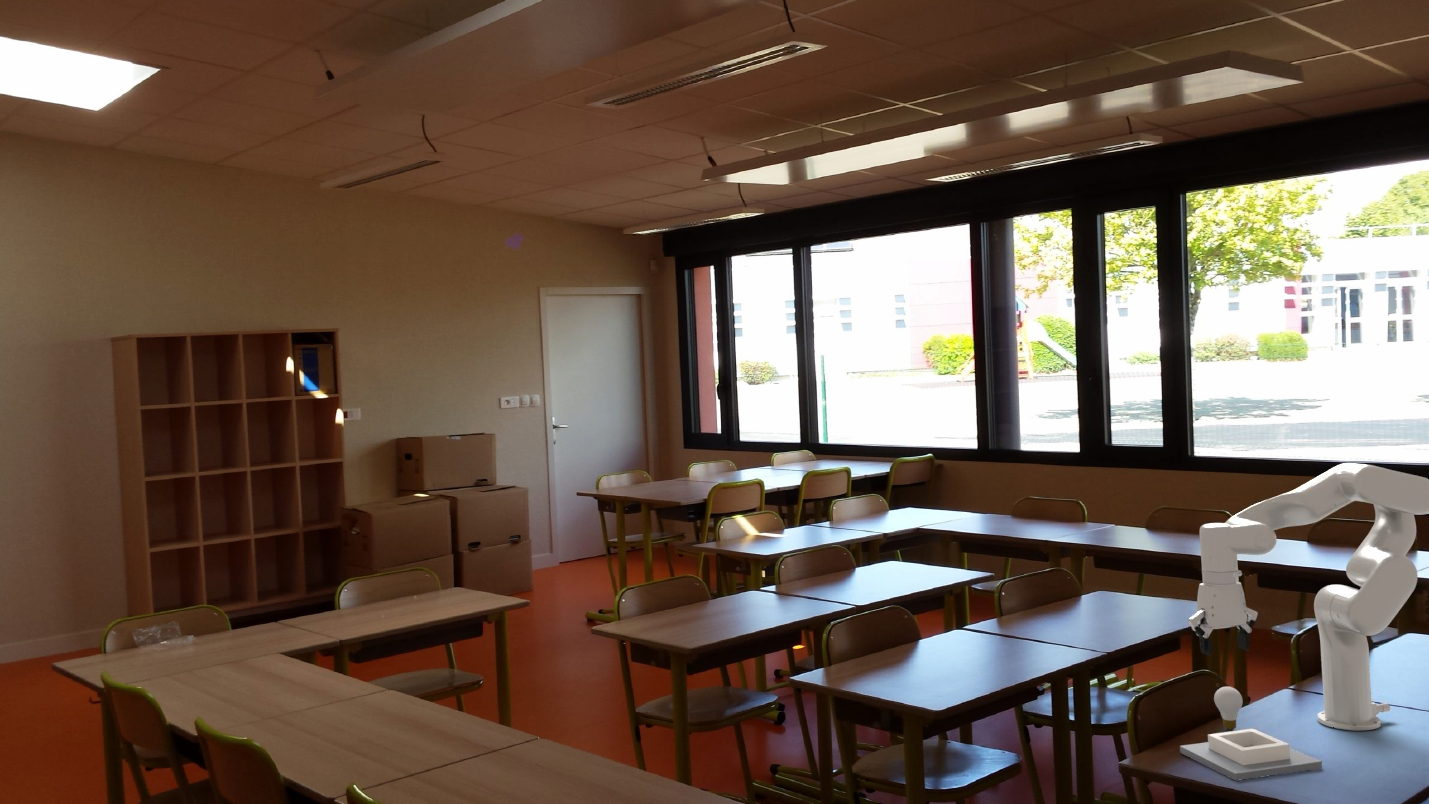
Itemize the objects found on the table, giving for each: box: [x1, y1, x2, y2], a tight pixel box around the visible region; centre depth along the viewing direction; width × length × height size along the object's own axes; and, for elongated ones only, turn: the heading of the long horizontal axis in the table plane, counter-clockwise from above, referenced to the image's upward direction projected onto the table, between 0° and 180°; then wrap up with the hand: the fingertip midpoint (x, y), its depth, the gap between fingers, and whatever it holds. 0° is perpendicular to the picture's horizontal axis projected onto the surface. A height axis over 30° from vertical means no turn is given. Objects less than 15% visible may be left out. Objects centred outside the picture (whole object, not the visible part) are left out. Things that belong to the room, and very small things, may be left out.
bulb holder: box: [1179, 728, 1323, 781], centre depth 224 cm, size 20×18×4 cm
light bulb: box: [1213, 686, 1244, 732], centre depth 243 cm, size 6×6×10 cm
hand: (1225, 651), depth 243 cm, fingers open, 9 cm apart
